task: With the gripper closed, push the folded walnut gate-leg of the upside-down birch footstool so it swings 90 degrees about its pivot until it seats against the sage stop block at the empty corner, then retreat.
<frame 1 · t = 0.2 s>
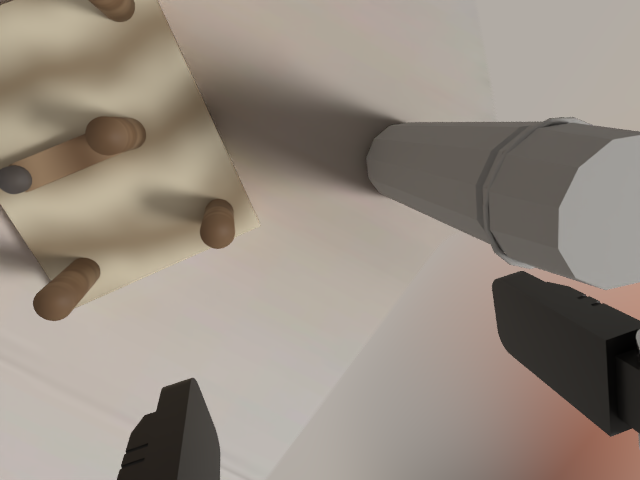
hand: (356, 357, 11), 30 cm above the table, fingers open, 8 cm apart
swing leg: (62, 158, 31), point 6 cm above the table, hinge at 0.0°
water bottle: (406, 167, 42), on the table
stool frame: (106, 144, 36), on the table
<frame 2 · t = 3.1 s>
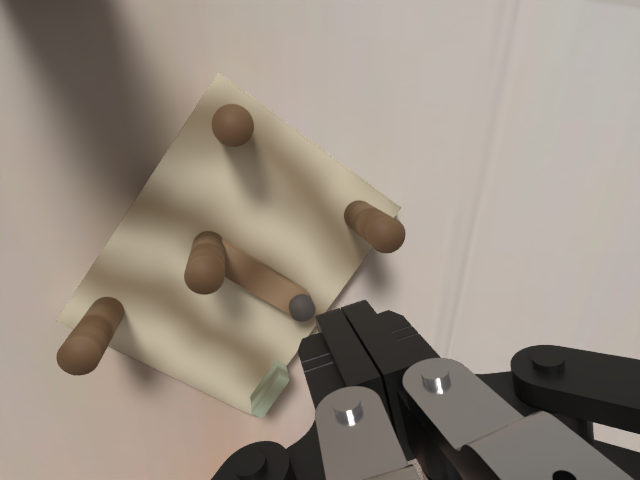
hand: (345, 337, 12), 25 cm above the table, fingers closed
swing leg: (257, 289, 32), point 6 cm above the table, hinge at 0.0°
stool frame: (236, 254, 37), on the table
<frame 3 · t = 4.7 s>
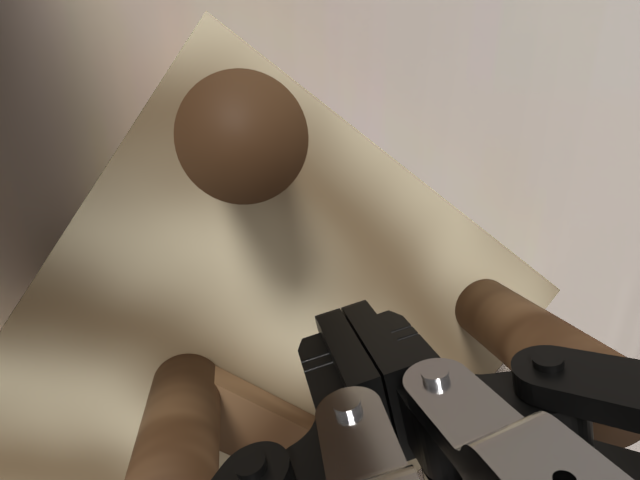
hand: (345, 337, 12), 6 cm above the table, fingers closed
stool frame: (242, 378, 19), on the table
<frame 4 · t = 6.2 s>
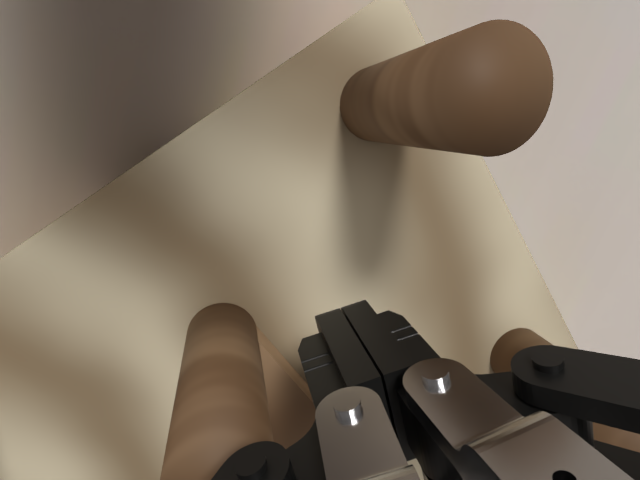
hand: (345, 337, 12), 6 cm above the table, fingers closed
stool frame: (264, 348, 18), on the table
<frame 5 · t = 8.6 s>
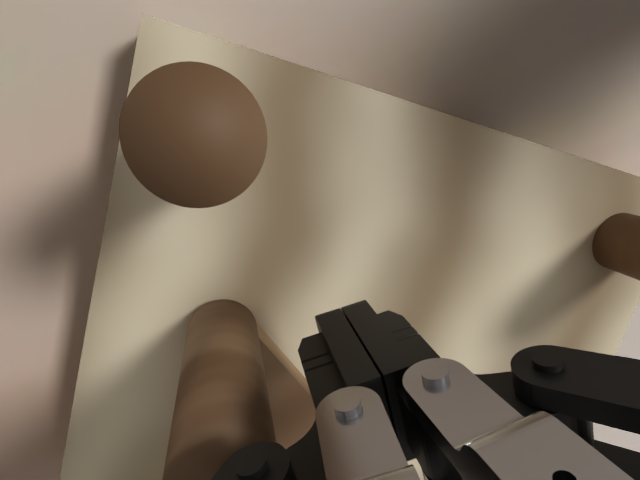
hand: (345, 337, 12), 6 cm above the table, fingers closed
swing leg: (308, 475, 14), point 6 cm above the table, hinge at 50.8°, touching gripper
stool frame: (375, 317, 19), on the table
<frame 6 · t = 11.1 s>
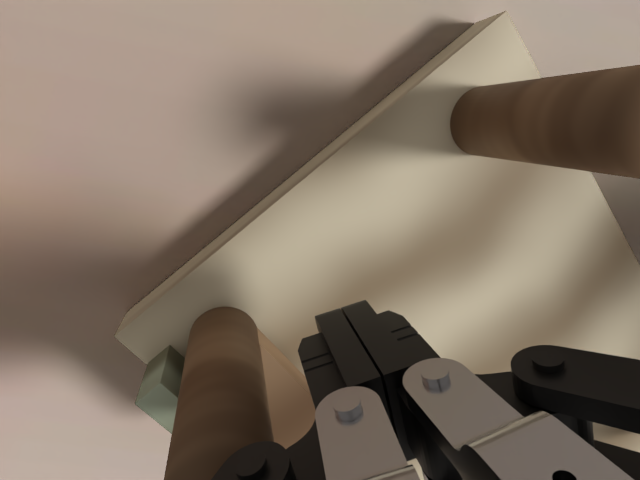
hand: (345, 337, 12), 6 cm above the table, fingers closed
swing leg: (313, 478, 14), point 6 cm above the table, hinge at 89.8°
stool frame: (446, 352, 21), on the table
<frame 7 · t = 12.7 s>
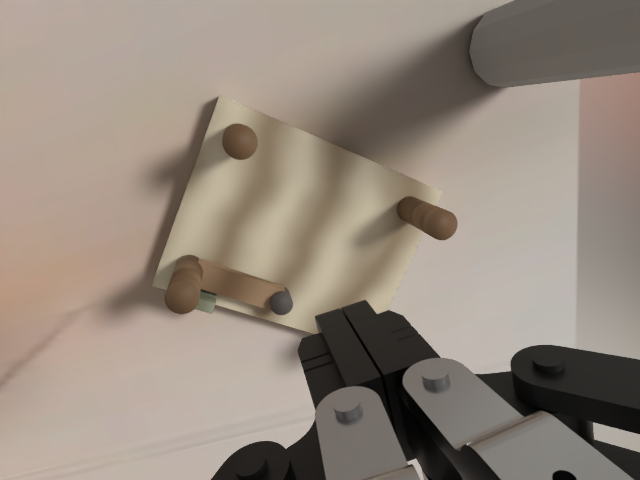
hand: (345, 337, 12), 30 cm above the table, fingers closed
swing leg: (235, 296, 37), point 6 cm above the table, hinge at 89.8°
water bottle: (507, 47, 42), on the table
stool frame: (299, 231, 42), on the table
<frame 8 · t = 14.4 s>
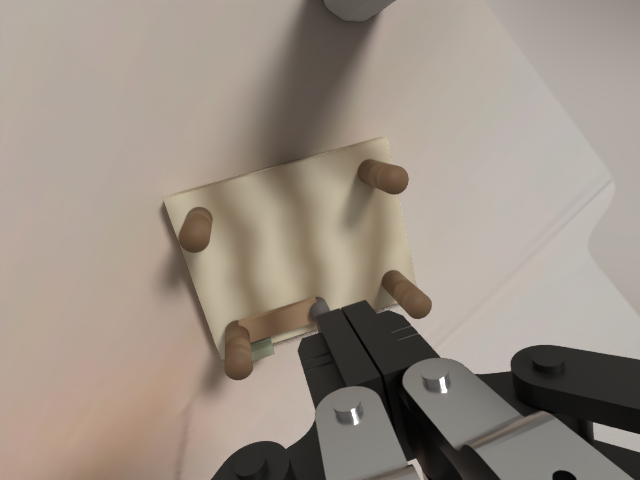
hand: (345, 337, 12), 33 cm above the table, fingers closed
swing leg: (280, 334, 42), point 6 cm above the table, hinge at 89.8°
stool frame: (299, 246, 46), on the table
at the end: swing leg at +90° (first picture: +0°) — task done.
